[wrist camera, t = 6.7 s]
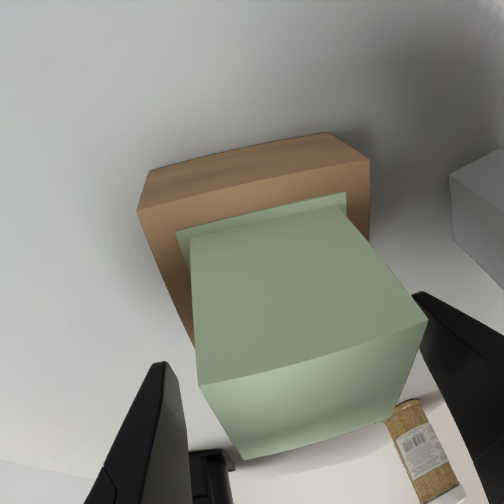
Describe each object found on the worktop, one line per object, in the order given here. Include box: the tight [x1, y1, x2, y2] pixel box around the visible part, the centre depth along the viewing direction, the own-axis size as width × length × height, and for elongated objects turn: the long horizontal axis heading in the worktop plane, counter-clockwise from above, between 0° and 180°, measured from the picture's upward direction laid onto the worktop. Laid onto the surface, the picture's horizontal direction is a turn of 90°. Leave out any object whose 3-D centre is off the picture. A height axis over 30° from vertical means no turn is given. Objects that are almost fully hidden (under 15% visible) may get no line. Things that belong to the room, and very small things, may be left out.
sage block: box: [190, 205, 428, 460], centre depth 9 cm, size 4×4×5 cm
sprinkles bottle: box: [383, 400, 466, 504], centre depth 24 cm, size 5×5×13 cm
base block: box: [136, 132, 370, 348], centre depth 12 cm, size 7×7×4 cm
